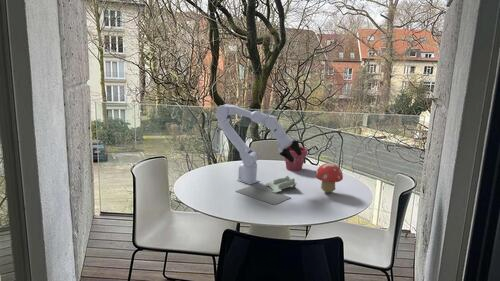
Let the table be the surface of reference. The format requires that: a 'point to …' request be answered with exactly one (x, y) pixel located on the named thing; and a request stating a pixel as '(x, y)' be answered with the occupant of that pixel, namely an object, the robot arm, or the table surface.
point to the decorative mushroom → (329, 176)
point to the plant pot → (296, 159)
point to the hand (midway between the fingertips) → (296, 158)
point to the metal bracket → (281, 184)
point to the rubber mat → (263, 194)
